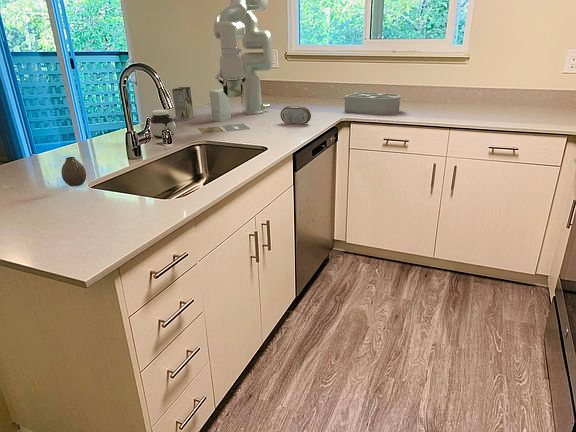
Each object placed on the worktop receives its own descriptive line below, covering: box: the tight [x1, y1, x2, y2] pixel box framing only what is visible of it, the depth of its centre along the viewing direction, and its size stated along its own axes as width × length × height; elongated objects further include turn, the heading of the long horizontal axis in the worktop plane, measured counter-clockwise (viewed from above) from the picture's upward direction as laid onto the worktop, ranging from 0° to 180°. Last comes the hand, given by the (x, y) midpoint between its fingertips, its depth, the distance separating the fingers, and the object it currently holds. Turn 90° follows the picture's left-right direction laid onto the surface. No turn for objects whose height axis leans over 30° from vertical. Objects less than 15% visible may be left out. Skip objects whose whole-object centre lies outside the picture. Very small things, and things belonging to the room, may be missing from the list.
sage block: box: [226, 79, 242, 99], centre depth 201 cm, size 6×6×7 cm
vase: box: [61, 156, 87, 187], centre depth 137 cm, size 7×7×9 cm
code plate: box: [221, 123, 251, 132], centre depth 208 cm, size 11×14×1 cm
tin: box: [280, 105, 312, 126], centre depth 212 cm, size 15×3×8 cm, turn 71°
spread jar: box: [149, 109, 177, 140], centre depth 196 cm, size 12×11×12 cm
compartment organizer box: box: [343, 91, 402, 116], centre depth 236 cm, size 17×28×9 cm, turn 57°
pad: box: [197, 126, 225, 134], centre depth 204 cm, size 10×12×1 cm
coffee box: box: [172, 86, 195, 122], centre depth 230 cm, size 9×6×16 cm
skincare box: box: [209, 88, 232, 122], centre depth 223 cm, size 8×7×16 cm
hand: (233, 93), depth 202 cm, fingers closed on sage block, 6 cm apart
